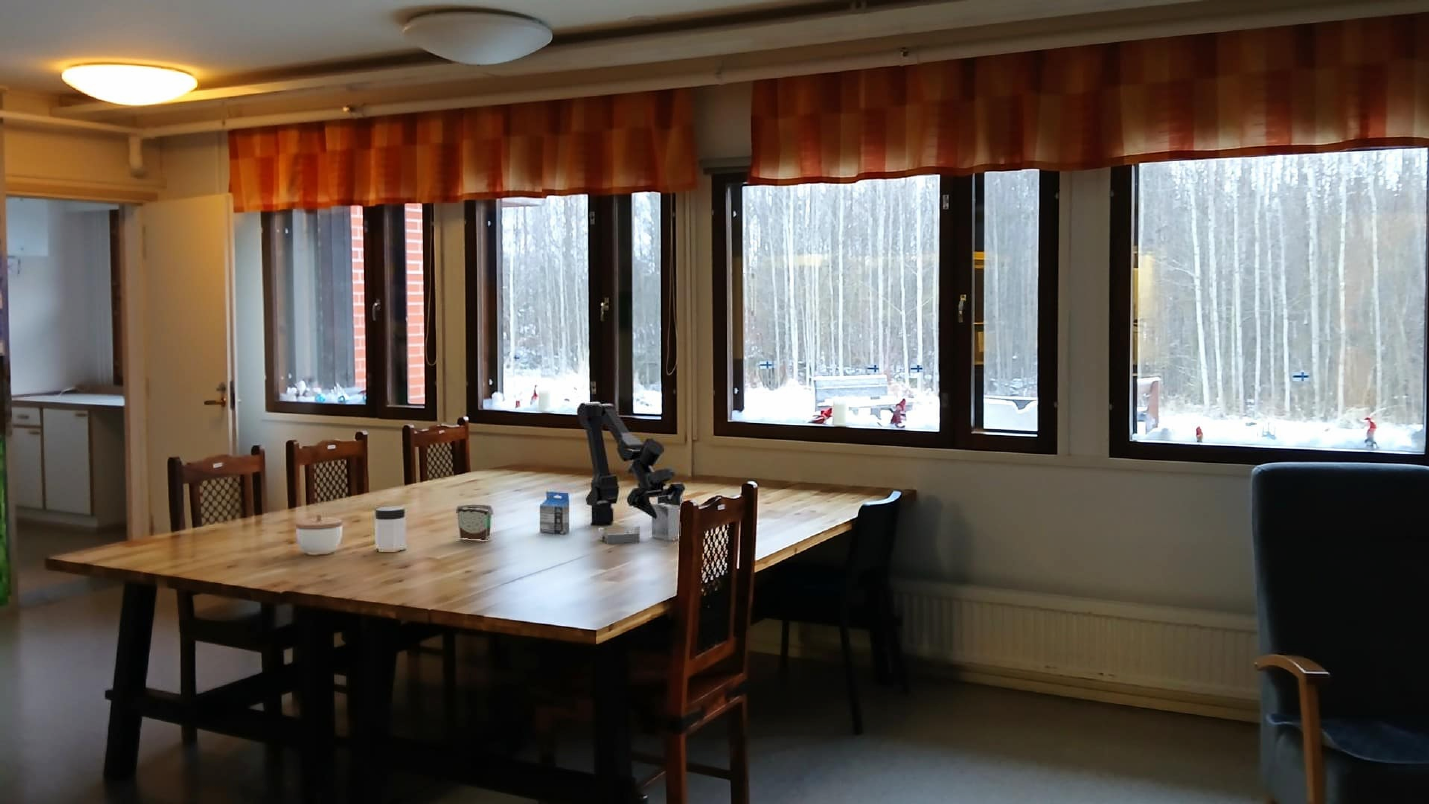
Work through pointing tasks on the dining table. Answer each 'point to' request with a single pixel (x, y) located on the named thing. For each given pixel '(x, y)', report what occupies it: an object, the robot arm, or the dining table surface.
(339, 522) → the lidded bowl
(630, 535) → the dock
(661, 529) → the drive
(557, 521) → the label tape box
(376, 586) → the dining table surface
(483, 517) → the food container
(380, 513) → the jar
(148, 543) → the dining table surface
